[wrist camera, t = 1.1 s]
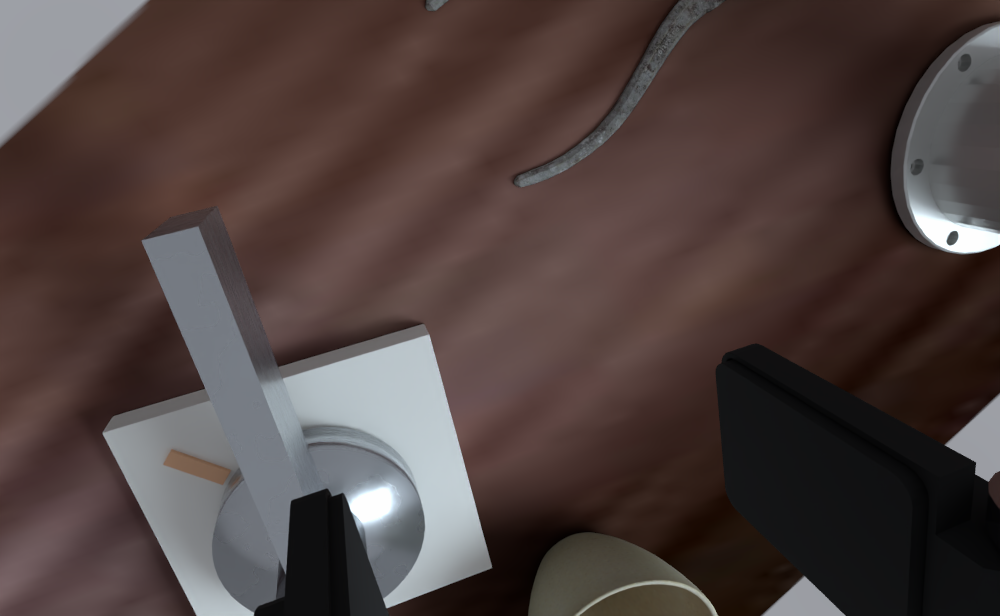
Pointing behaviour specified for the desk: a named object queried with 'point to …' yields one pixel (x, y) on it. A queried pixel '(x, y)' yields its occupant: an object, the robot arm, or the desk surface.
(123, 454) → the dial plate
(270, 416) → the dial
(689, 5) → the pliers
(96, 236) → the desk surface
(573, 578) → the flower pot
